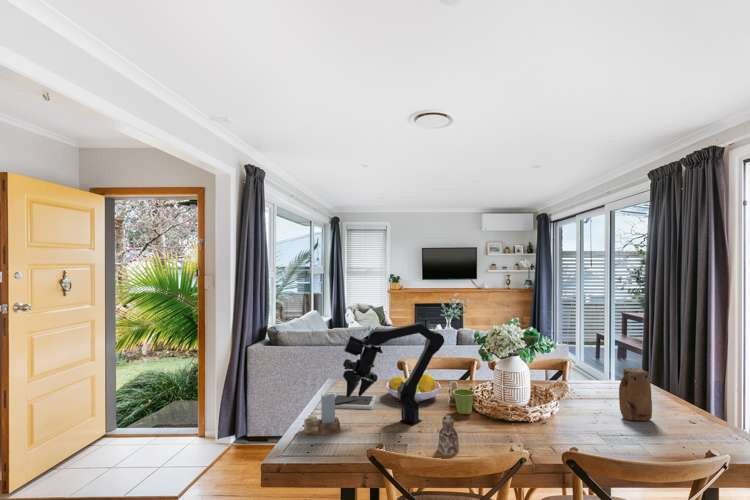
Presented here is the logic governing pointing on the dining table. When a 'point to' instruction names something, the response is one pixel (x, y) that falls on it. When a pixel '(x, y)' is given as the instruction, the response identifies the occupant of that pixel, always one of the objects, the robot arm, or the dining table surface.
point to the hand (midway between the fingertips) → (353, 396)
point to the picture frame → (355, 401)
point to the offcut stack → (311, 424)
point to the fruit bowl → (424, 388)
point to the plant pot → (464, 400)
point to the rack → (326, 428)
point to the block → (635, 395)
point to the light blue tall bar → (327, 408)
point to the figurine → (448, 437)
